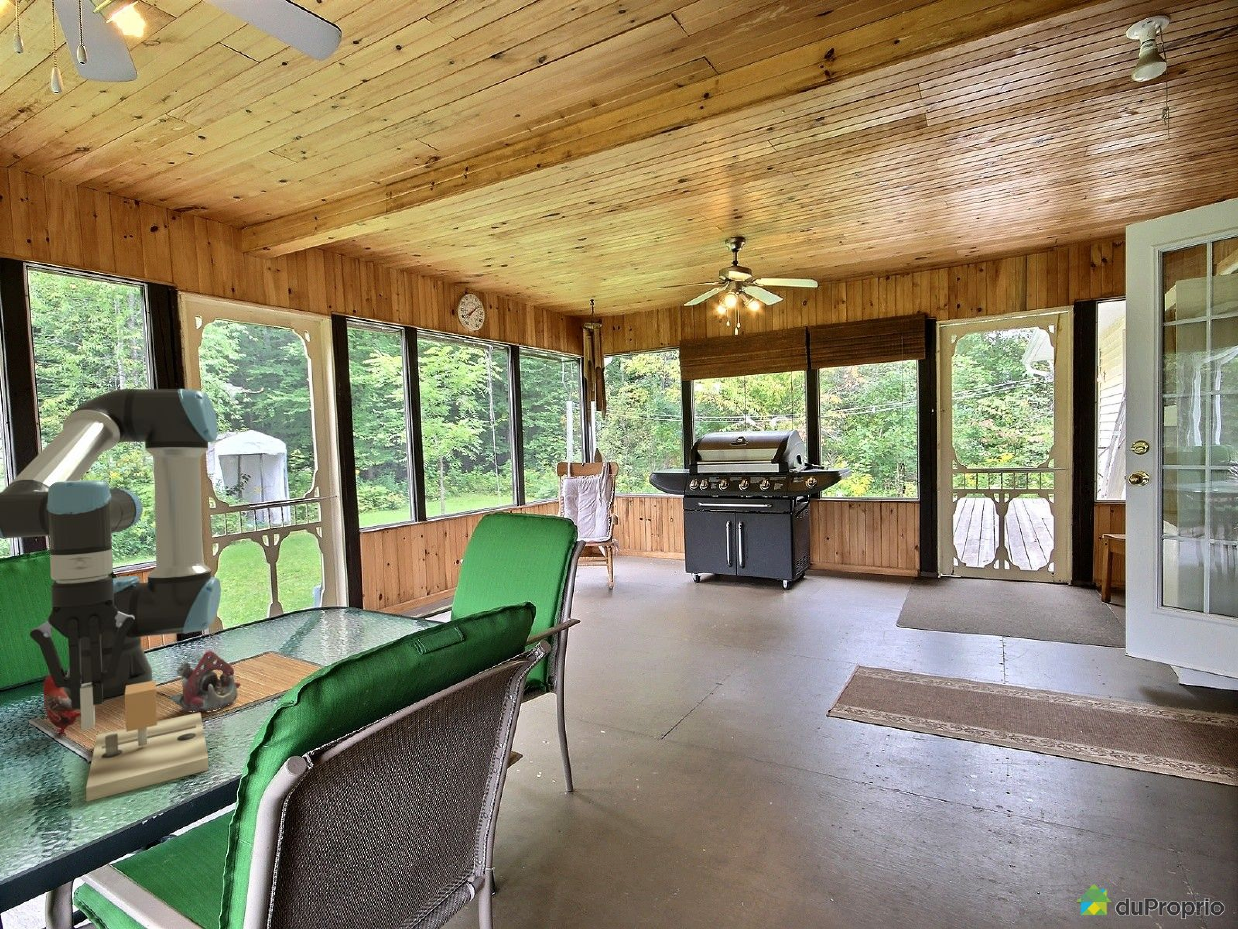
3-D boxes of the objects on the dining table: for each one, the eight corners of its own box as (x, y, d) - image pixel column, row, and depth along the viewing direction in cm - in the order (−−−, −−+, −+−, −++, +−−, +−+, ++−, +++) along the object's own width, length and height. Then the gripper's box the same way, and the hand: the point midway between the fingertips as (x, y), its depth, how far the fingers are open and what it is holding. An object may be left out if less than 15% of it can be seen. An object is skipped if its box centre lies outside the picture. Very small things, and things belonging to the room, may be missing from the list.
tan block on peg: (128, 742, 107) (126, 685, 107) (157, 735, 109) (155, 680, 109) (127, 753, 103) (124, 694, 103) (157, 746, 105) (155, 689, 105)
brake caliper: (212, 707, 121) (180, 655, 123) (177, 738, 123) (145, 686, 125) (260, 686, 132) (230, 637, 134) (227, 714, 134) (197, 666, 136)
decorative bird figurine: (57, 723, 121) (55, 670, 121) (94, 746, 111) (91, 689, 111) (37, 729, 118) (35, 675, 118) (72, 753, 109) (70, 694, 108)
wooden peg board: (97, 745, 111) (96, 717, 111) (200, 723, 120) (199, 696, 120) (86, 801, 93) (85, 767, 93) (208, 770, 102) (207, 739, 102)
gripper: (22, 588, 94) (29, 746, 95) (133, 576, 102) (139, 723, 103) (31, 580, 101) (37, 728, 101) (135, 569, 108) (140, 708, 109)
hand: (88, 725), depth 102 cm, fingers closed
